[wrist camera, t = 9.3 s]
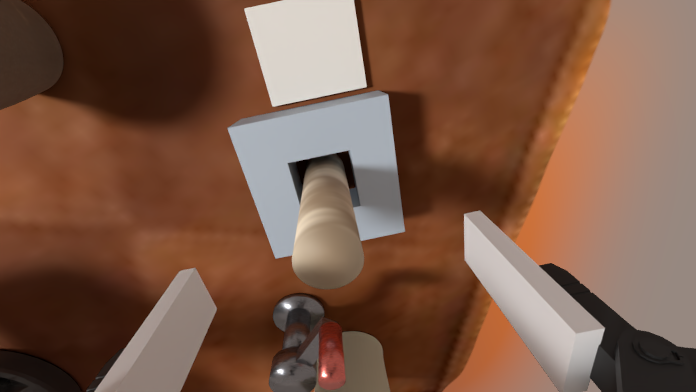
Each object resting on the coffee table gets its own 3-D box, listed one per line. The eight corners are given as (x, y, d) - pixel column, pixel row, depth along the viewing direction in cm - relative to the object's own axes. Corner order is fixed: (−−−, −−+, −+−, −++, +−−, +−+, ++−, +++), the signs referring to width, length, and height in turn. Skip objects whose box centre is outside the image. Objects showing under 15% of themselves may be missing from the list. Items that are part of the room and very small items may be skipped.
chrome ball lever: (264, 369, 28) (251, 441, 23) (314, 300, 25) (312, 364, 20) (304, 380, 30) (300, 451, 24) (355, 316, 26) (364, 381, 21)
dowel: (311, 190, 28) (302, 295, 15) (301, 155, 26) (282, 239, 13) (347, 182, 28) (369, 281, 15) (339, 147, 26) (357, 223, 13)
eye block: (281, 234, 29) (275, 258, 26) (241, 119, 24) (227, 128, 21) (394, 211, 29) (404, 231, 26) (378, 90, 24) (388, 94, 21)
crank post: (281, 334, 35) (274, 383, 30) (267, 299, 33) (256, 345, 27) (329, 324, 35) (330, 371, 30) (317, 288, 33) (317, 332, 27)
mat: (273, 106, 24) (272, 106, 24) (246, 10, 21) (244, 8, 21) (365, 86, 24) (366, 87, 24) (350, -12, 21) (351, -14, 21)
